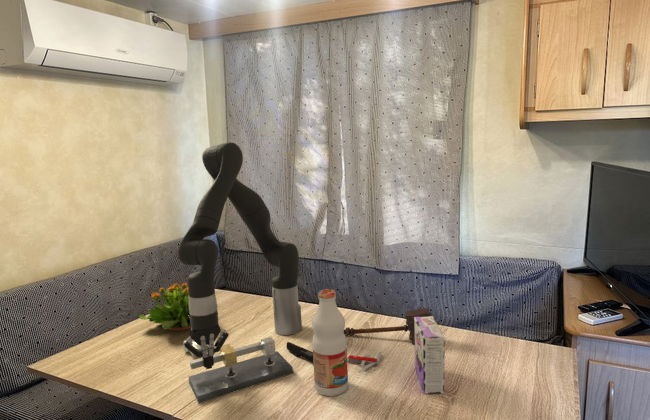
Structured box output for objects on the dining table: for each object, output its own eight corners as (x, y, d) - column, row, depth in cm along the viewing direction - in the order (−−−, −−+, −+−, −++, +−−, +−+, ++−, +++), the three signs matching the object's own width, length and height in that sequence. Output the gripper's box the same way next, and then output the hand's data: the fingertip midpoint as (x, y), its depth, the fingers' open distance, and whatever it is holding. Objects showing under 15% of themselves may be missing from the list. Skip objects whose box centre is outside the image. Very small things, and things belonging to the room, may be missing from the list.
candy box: (414, 368, 130) (413, 315, 128) (434, 367, 130) (433, 315, 127) (423, 394, 117) (422, 336, 114) (445, 394, 116) (445, 336, 114)
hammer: (436, 343, 142) (429, 314, 141) (341, 352, 152) (335, 326, 151) (436, 334, 149) (430, 306, 148) (346, 344, 159) (339, 318, 158)
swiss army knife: (335, 372, 130) (334, 366, 130) (348, 350, 143) (348, 345, 143) (372, 378, 126) (372, 371, 126) (382, 355, 139) (382, 349, 139)
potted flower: (191, 309, 186) (187, 269, 184) (229, 320, 173) (225, 277, 170) (137, 331, 166) (132, 287, 164) (175, 345, 153) (170, 298, 150)
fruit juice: (320, 376, 128) (316, 285, 124) (351, 380, 125) (348, 287, 121) (310, 394, 119) (304, 296, 115) (343, 399, 116) (338, 299, 112)
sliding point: (230, 363, 133) (228, 341, 132) (238, 373, 127) (236, 351, 126) (220, 366, 132) (218, 344, 131) (227, 377, 125) (225, 354, 124)
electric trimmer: (292, 348, 148) (292, 339, 147) (324, 362, 136) (323, 353, 136) (284, 352, 145) (283, 343, 145) (315, 367, 134) (314, 357, 133)
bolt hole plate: (277, 356, 141) (277, 350, 141) (292, 373, 130) (292, 366, 130) (189, 382, 128) (188, 376, 128) (198, 403, 117) (197, 395, 117)
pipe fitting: (201, 361, 142) (210, 350, 148) (199, 350, 141) (209, 339, 147) (179, 359, 144) (189, 348, 150) (177, 349, 143) (187, 338, 149)
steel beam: (269, 354, 138) (267, 333, 137) (276, 362, 132) (274, 340, 131) (191, 376, 126) (189, 354, 125) (195, 386, 121) (193, 362, 120)
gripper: (223, 300, 128) (227, 356, 130) (176, 310, 121) (182, 368, 124) (230, 308, 121) (235, 366, 124) (181, 319, 115) (187, 380, 117)
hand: (208, 367), depth 124 cm, fingers closed
